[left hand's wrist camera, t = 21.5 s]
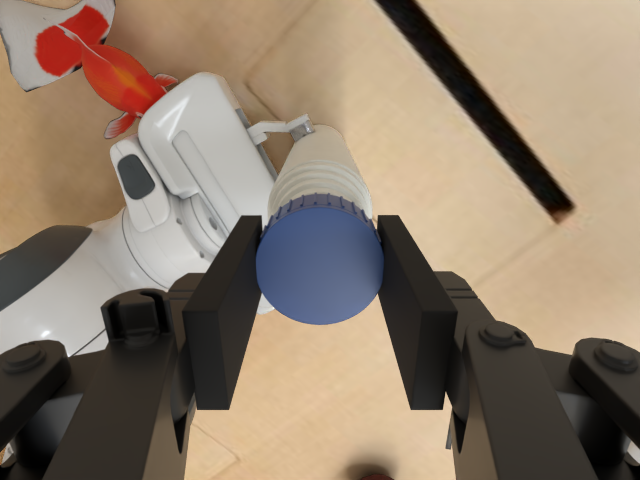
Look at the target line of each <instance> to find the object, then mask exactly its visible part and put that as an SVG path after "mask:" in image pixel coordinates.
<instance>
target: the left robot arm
mask: <svg viewBox="0 0 640 480" xmlns="http://www.w3.org/2000/svg"><path fill="white" fill-rule="evenodd" d="M262 231H263V228H262V215H241V217H240V218H239V220H238V222H237V223H236V225H235V226H234V228H233V230H232V231H231V233H230V234H229V236H228V238H227V239H226V241H225V242H224V244H223V246H222V247H221V249H220V250H219V252H218V254H217V255H216V257H215V258H214V260H213V262H212V263H211V265H210V266H209V268H208V270H207V271H206V273H187V274H185V275H184V276H182V277H181V278H179V279H177V280H176V281H175V282H174V283H173V285H172V286H171V287H170V288H169V290H168V292H165V291H163V290H160V289H155V288H141V289H135V290H130V291H127V292H124V293H121V294H118V295H116V296H114V297H112V298H110V299H109V300H107V301H106V302H105V303H104V304H103V305H102V306H101V307H100V309H101V313H102V317H103V321H104V325H105V329H106V333H107V337H108V341H109V342H108V344H107V346H106V348H105V349H103V350H100V351H96V352H90V353H85V354H80V355H75V356H70V357H68V355H67V352H66V349H65V345H63V344H62V343H61V342H59V341H55V340H49V339H48V340H38V341H31V342H28V343H23V344H20V345H18V346H16V347H14V348H12V349H10V350H7V351H5V352H4V353H2V354H0V452H1V451H2V450H3V449H4V448H5V447H6V446H7V444H8V443H10V446H11V448H12V451H13V453H12V454H11V456H10V457H9V458H8V459H7V460H6V461H5V462H4V463H2V464H1V465H0V480H184V475H185V466H186V458H187V449H188V440H189V432H190V418H189V412H188V406H189V404H190V401H191V399H192V396H193V394H195V400H196V406H197V410H229V408H230V404H231V401H232V397H233V394H234V390H235V387H236V383H237V380H238V376H239V373H240V369H241V366H242V362H243V358H244V355H245V351H246V348H247V344H248V341H249V337H250V334H251V330H252V327H253V323H254V320H255V316H256V313H257V309H258V306H259V302H260V299H261V295H262V292H261V290H260V288H259V285H258V283H257V272H256V252H257V248H258V246H259V243H260V241H261V239H260V236H261V234H262ZM377 232H378V234H379V237H380V239H381V242H382V244H381V247H382V250H383V253H384V268H383V281H382V285H381V287H380V289H379V291H378V296H379V299H380V303H381V306H382V310H383V313H384V317H385V321H386V324H387V328H388V331H389V335H390V338H391V342H392V345H393V349H394V352H395V356H396V359H397V363H398V366H399V370H400V373H401V377H402V381H403V384H404V388H405V391H406V395H407V398H408V402H409V405H410V409H411V410H443V405H444V398H445V392H446V393H447V395H448V398H449V400H450V402H451V405H452V412H451V418H450V424H449V430H448V436H447V442H446V449H450V450H451V444H452V448H453V457H454V465H455V474H456V480H640V463H638V462H637V461H636V460H635V459H634V458H633V457H632V456H631V455H630V454H629V452H628V451H627V450H628V447H629V445H630V443H631V441H632V442H633V443H634V444H635V445H636V446H637V447H638V448H639V450H640V352H638V351H637V350H635V349H633V348H630V347H628V346H626V345H624V344H622V343H620V342H617V341H612V340H609V339H600V338H586V339H581V340H580V341H578V342H577V343H576V344H575V348H574V351H573V354H572V355H569V354H563V353H558V352H553V351H548V350H543V349H539V348H535V347H534V345H533V343H532V341H531V340H530V338H529V337H528V336H527V335H526V333H524V332H523V331H521V330H520V329H518V328H517V327H515V326H512V325H510V324H507V323H505V322H501V321H496V320H495V319H494V317H493V316H492V315H491V313H490V312H489V311H488V310H487V308H486V307H485V306H484V304H483V303H482V302H481V300H480V299H478V296H477V295H476V294H475V292H474V291H472V289H471V287H470V286H469V285H468V283H467V282H466V281H465V279H463V278H461V277H460V276H458V275H457V274H455V273H453V272H452V271H433V270H432V268H431V267H430V265H429V264H428V262H427V260H426V259H425V257H424V256H423V254H422V252H421V251H420V249H419V248H418V246H417V244H416V243H415V241H414V240H413V238H412V236H411V235H410V233H409V232H408V230H407V228H406V227H405V225H404V224H403V222H402V220H401V219H400V217H399V216H398V215H378V224H377Z"/></svg>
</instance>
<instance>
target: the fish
mask: <svg viewBox="0 0 640 480" xmlns="http://www.w3.org/2000/svg"><path fill="white" fill-rule="evenodd" d="M115 5H116V4H115V0H81V1H80V2H79V3H78V4H76V5H74V6H73V7H71V8H69V9H67V10H65V9H57V8H50V7H43V6H40V5H37V4H33V3H30V2H26V1H22V0H0V34H1V37H2V40H3V43H4V46H5V49H6V52H7V55H8V60H9V65H10V70H11V74H12V75H13V76H14V78H15V79H16V81H17V82H18V84H19V85H20V87H21V88H22V89H23V90H24V91H26V92H29V91H31V90H34V89H36V88H39V87H41V86H44V85H47V84H49V83H52V82H54V81H56V80H58V79H60V78H62V77H64V76H66V75H68V74H70V73H72V72H74V71H76V70H78V69H80V68H81V67H82V66H83V70H84V73H85V76H86V78H87V80H88V81H89V83H90V84H91V86H92V87H93V89H94V90H95V91H96V92H97V94H98V95H99V96H100V97H102V98H103V99H104V100H106V101H107V102H108V103H110V104H111V105H113V106H114V107H116V108H117V109H119V110H122V111H125V113H124V114H123V115H122V116H121V117H119V118H117V119H115V120H112V121H111V122H110V123H109V124H108V126H107V128H106V130H105V133H104V137H105V138H106V139H111V138H114V137H116V136H118V135H119V134H121V133H124V132H125V131H126V130H127V129H129V128H130V127H131V126H132V124H133V123H134V121H135V119H136V118H139V119H141V118H142V117H143V115H144V114H145V112H146V111H147V110H148V109H149V108H150V107H151V106H152V105H153V104H155V103H156V102H157V101H158V100H159V99H160V98H162V97H163V96H164V95H165V94H167V93H168V91H167V90H166V89H165V87H167V86H169V85H171V84H173V83H175V82H177V85H178V79H176V78H174V77H172V76H170V75H166V74H161V73H159V74H157V75H156V76H155V77H154V78H153V76H151V75H149V73H148V72H147V70H146V69H145V68H144V67H143V66H142V65H141V64H140V63H139V62H138V61H137V60H136V59H134V58H133V57H132V56H131V55H129V54H127V53H126V52H124V51H121V50H119V49H117V48H114V47H111V46H108V45H103V44H104V42H105V40H106V38H107V35H108V33H109V30H110V28H111V25H112V21H113V17H114V12H115Z"/></svg>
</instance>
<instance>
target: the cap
mask: <svg viewBox="0 0 640 480" xmlns="http://www.w3.org/2000/svg"><path fill="white" fill-rule="evenodd" d="M260 239H261V241H260V243H259V246H258V248H257V252H256V272H257V283H258V285H259V288H260V290H261V292H262V293H263V295H264V297H265V298H266V299H267V301H268V302H269V303H270V304H271V305H272V306H273V307H274V308H275V309H276V310H278V311H279V312H280V313H282V314H283V315H285V316H287V317H289V318H291V319H293V320H296V321H299V322H302V323H307V324H315V325H325V324H333V323H337V322H341V321H344V320H347V319H349V318H351V317H353V316H355V315H357V314H358V313H360V312H361V311H362V310H364V309H365V308H366V307H367V306H368V305H369V304H370V303H371V302H372V300H373V299H374V298H375V296H376V295H377V293H378V291H379V289H380V287H381V285H382V281H383V268H384V253H383V250H382V247H381V244H382V242H381V239H380V237H379V234H378V232H377V229H375V227H374V224H373V222H372V219H371V218H370V219H369V218H368V217H367V215H366V214H365V211H364V210H363V209H362V210H361V209H360V208H359V207H358V206H356V205H355V203H354V202H353V201H352V202H350V201H348V200H346V199H344V198H343V196H340V197H338V196H334V195H330V193H328V194H317V192H316V193H315V194H311V195H306V196H304V194H303V195H302V196H301V197H299V198H296V199H294V200H292V199H290V200H289V202H288V203H287V204H285V205H284V206H282V207H281V206H280V207H279V209H278V211H277V212H276V213H275V214H274V215H271V216H270V219H269V221H268V224H267V225H265V226H264V229H263V231H262V234H261V236H260Z"/></svg>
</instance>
